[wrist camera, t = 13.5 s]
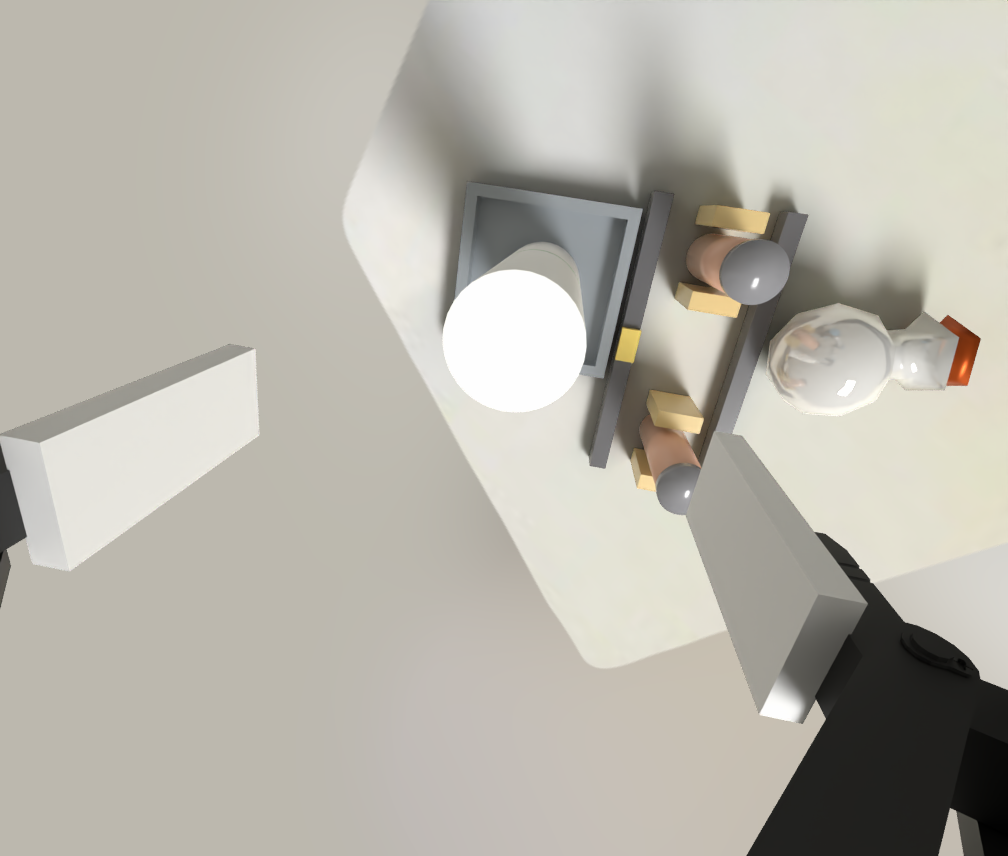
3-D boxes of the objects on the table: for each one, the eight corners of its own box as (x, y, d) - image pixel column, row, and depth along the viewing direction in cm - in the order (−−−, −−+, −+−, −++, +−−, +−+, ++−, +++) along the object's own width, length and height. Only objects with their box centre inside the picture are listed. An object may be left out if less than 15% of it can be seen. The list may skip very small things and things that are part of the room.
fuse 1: (643, 406, 53) (665, 464, 41) (685, 414, 53) (719, 473, 41) (633, 444, 54) (651, 509, 43) (674, 451, 54) (703, 519, 42)
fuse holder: (651, 191, 45) (662, 188, 40) (798, 214, 45) (830, 214, 39) (588, 457, 56) (590, 484, 50) (708, 479, 55) (723, 509, 49)
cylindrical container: (487, 281, 49) (413, 341, 26) (542, 224, 47) (514, 235, 24) (539, 335, 51) (512, 438, 28) (595, 283, 48) (617, 348, 25)
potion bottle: (739, 334, 50) (897, 324, 50) (756, 432, 48) (922, 422, 48) (786, 285, 41) (979, 273, 41) (810, 403, 39) (1015, 392, 39)
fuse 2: (692, 228, 46) (734, 234, 34) (740, 236, 46) (799, 245, 34) (679, 277, 48) (714, 299, 36) (725, 284, 48) (776, 309, 36)
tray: (472, 182, 47) (467, 181, 44) (639, 208, 46) (642, 208, 44) (454, 345, 53) (448, 351, 50) (602, 371, 52) (603, 378, 50)
